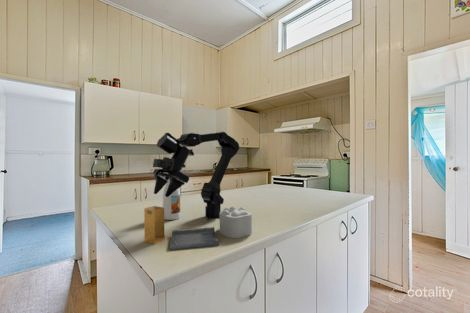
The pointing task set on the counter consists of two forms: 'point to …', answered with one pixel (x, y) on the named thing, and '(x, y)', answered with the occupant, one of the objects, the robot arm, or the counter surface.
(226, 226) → the lumpy-topped squat cylinder
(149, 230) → the block
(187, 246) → the dark grey tray
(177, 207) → the milk bottle
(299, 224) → the counter surface
